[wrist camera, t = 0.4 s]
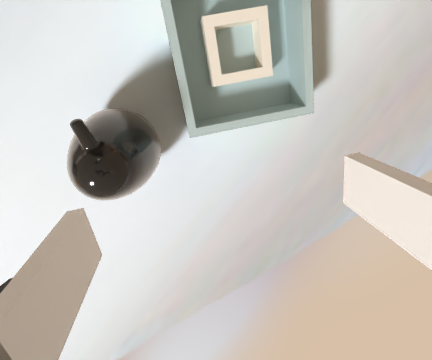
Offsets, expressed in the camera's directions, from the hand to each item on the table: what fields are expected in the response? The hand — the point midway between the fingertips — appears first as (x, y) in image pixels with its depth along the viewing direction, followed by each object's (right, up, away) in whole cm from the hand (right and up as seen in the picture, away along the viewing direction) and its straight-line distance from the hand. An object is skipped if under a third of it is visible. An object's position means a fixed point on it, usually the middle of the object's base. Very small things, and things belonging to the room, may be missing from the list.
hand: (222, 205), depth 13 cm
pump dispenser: (-13, +7, +24) cm, 28 cm away
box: (+2, +18, +22) cm, 29 cm away
